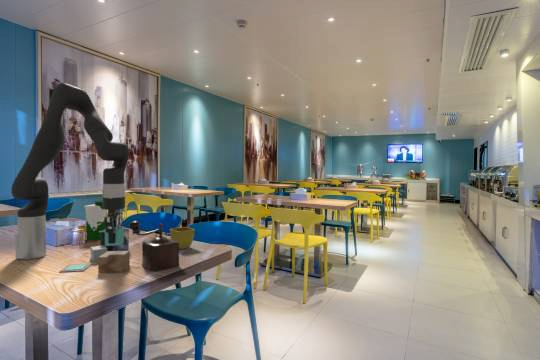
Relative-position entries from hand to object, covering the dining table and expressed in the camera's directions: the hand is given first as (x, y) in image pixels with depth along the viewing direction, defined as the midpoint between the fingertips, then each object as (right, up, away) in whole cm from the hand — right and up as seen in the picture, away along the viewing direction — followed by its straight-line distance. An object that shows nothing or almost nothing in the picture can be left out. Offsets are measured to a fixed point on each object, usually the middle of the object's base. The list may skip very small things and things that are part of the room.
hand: (114, 241), depth 112 cm
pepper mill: (+14, -11, +3) cm, 18 cm away
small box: (-10, -10, +21) cm, 25 cm away
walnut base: (0, -11, 0) cm, 11 cm away
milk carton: (-34, -9, +48) cm, 59 cm away
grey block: (-10, -8, +10) cm, 16 cm away
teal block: (0, -1, 0) cm, 1 cm away
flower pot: (+16, -10, +32) cm, 37 cm away
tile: (-14, -10, +1) cm, 18 cm away
